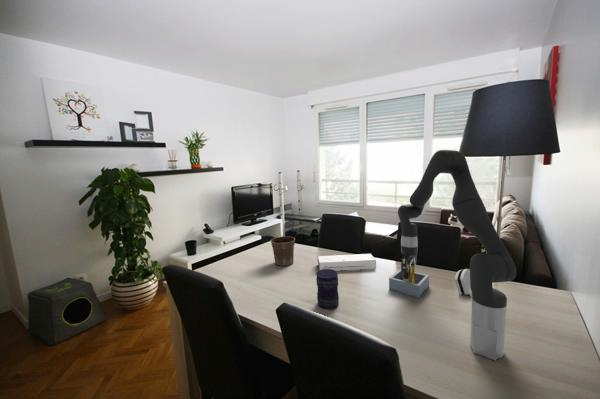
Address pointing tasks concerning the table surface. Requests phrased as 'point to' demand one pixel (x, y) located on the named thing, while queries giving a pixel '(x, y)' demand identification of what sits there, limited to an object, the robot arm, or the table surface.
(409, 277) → the bracket
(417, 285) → the box
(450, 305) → the table surface
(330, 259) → the laminator
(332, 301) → the storage jar
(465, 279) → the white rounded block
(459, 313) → the table surface
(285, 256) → the plant pot
